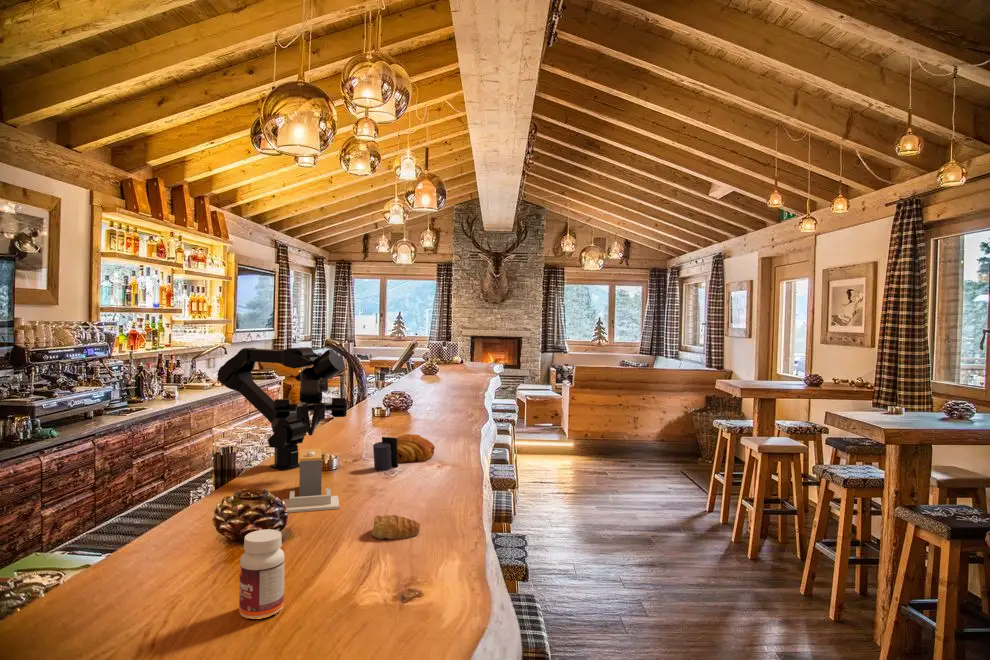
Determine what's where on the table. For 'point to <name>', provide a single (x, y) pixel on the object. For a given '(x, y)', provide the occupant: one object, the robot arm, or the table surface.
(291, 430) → the robot arm
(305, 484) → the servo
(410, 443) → the croissant
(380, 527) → the pastry
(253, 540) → the pill bottle
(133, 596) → the table surface
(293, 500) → the bracket
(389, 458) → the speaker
